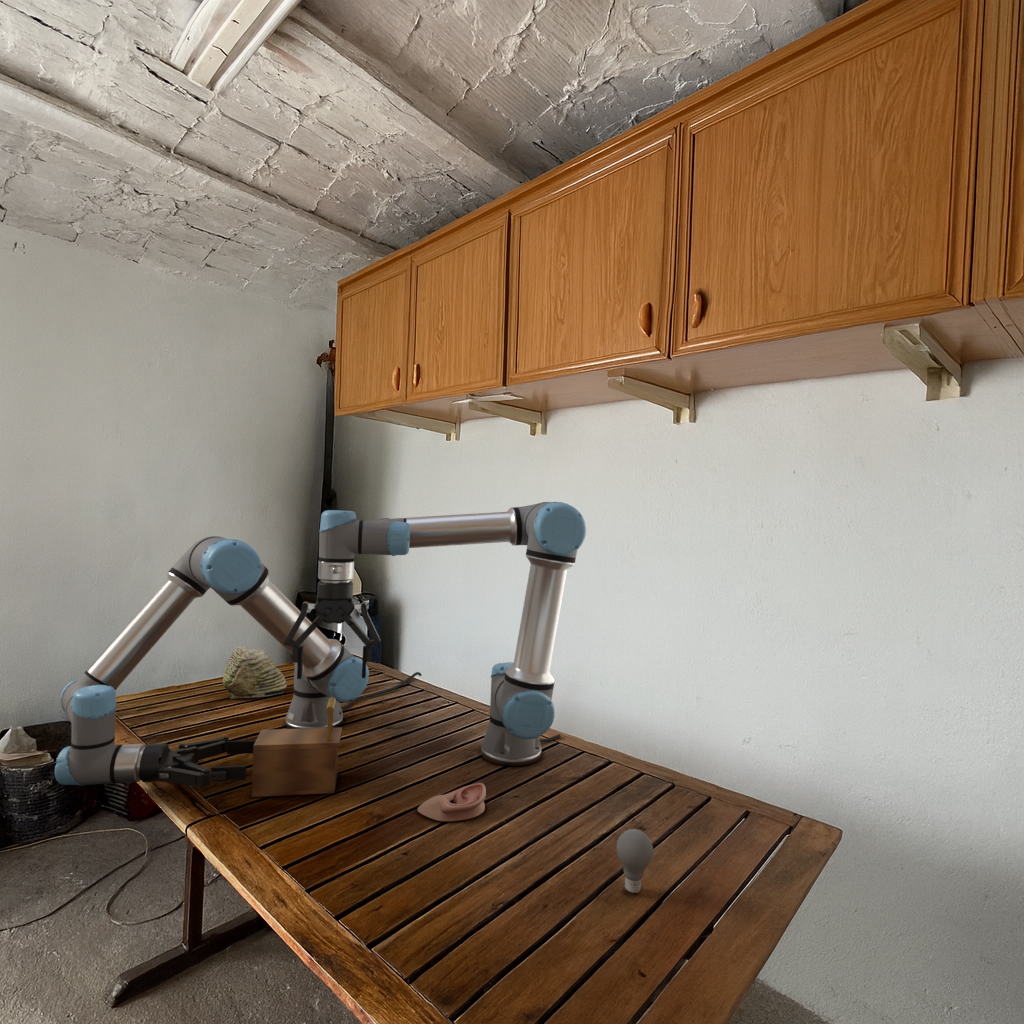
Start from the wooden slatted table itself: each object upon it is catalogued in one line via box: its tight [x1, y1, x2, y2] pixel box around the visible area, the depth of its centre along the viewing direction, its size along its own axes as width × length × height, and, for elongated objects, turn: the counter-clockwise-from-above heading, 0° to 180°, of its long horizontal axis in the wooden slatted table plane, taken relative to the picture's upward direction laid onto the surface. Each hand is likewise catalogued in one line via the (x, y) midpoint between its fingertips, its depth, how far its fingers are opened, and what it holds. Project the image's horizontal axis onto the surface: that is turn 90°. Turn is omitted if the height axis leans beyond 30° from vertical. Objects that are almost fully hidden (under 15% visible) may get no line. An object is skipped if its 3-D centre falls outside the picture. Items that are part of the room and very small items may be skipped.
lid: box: [253, 697, 343, 751], centre depth 138 cm, size 17×9×8 cm, turn 102°
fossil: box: [222, 646, 288, 699], centre depth 198 cm, size 9×18×15 cm, turn 132°
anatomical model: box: [417, 782, 487, 822], centre depth 131 cm, size 13×4×12 cm
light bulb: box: [615, 828, 654, 894], centre depth 106 cm, size 6×6×10 cm
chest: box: [251, 748, 339, 798], centre depth 138 cm, size 17×9×10 cm, turn 102°
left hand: (252, 758), depth 136 cm, fingers open, 13 cm apart
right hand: (332, 677), depth 139 cm, fingers open, 13 cm apart
